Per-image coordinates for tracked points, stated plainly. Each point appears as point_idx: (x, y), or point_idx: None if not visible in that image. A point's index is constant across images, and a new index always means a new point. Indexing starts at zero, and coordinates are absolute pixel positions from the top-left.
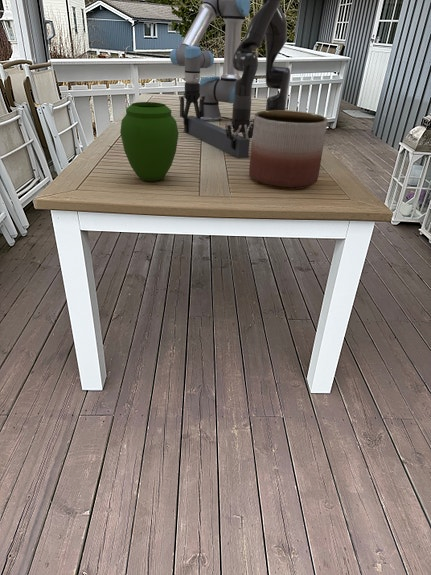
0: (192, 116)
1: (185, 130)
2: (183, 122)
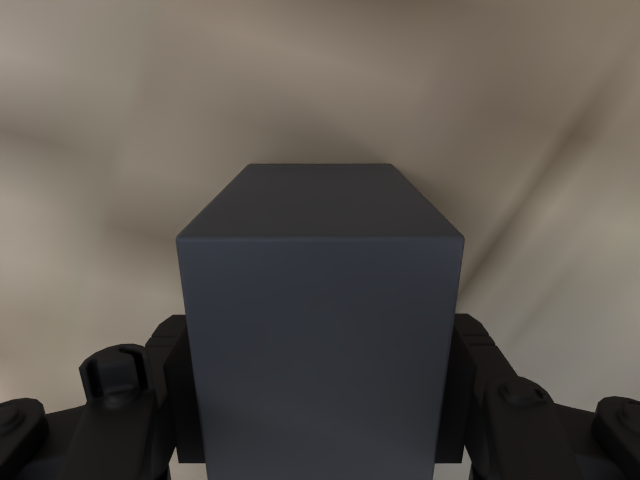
0: (411, 320)
1: None
2: (148, 340)
